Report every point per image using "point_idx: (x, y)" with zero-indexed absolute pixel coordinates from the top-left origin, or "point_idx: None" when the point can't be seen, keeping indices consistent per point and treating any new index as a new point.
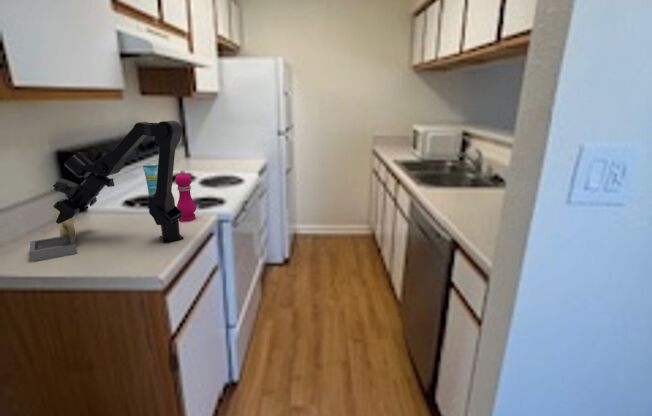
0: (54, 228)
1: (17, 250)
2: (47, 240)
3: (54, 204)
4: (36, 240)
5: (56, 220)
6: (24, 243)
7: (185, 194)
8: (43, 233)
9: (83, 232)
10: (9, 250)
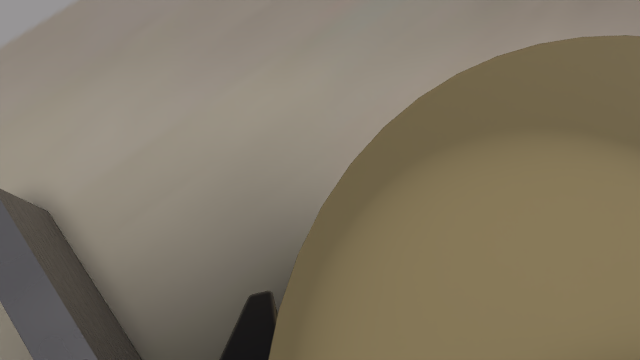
0: (613, 3)
1: (64, 86)
2: (32, 342)
3: (326, 214)
4: (12, 229)
5: (240, 319)
6: (236, 25)
7: None
8: (482, 3)
9: None
10: (73, 27)
